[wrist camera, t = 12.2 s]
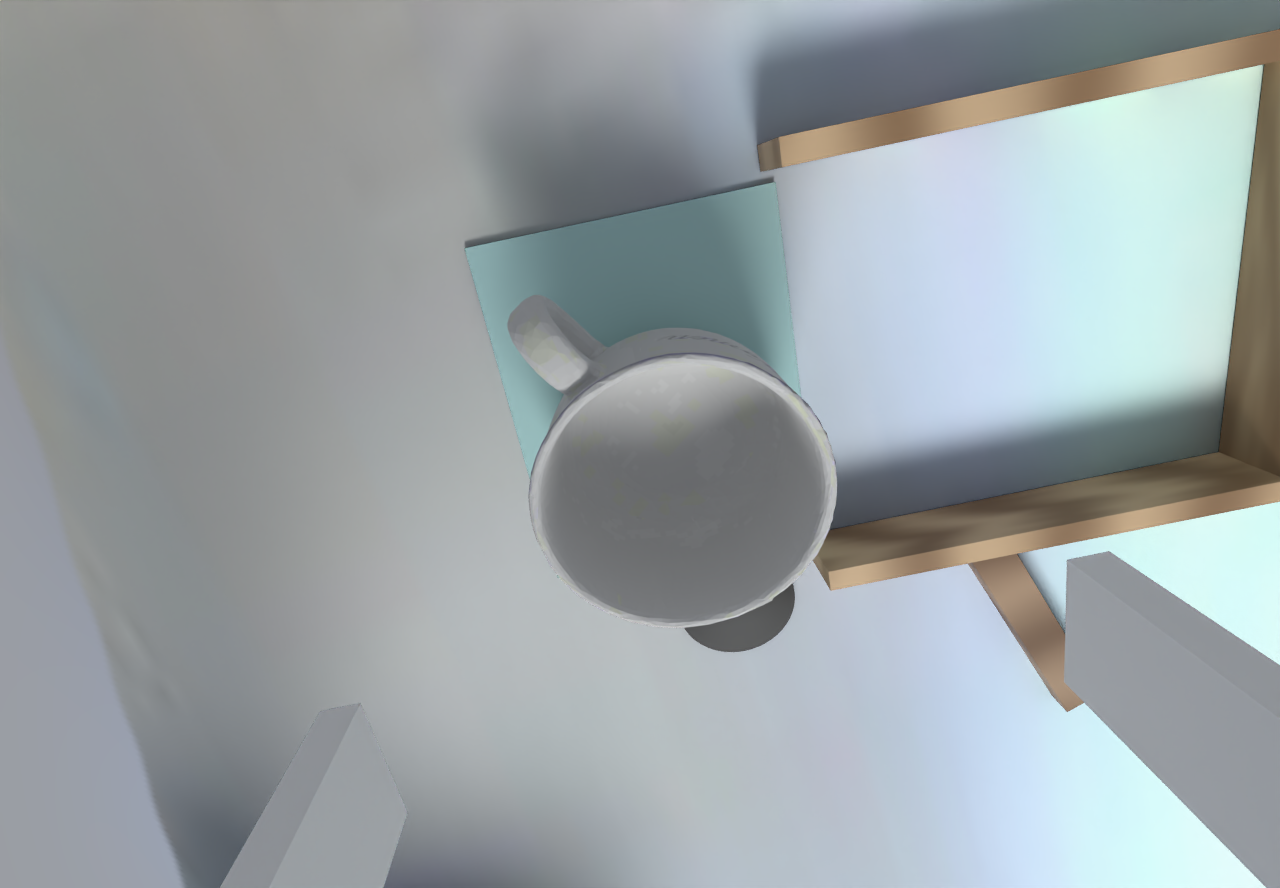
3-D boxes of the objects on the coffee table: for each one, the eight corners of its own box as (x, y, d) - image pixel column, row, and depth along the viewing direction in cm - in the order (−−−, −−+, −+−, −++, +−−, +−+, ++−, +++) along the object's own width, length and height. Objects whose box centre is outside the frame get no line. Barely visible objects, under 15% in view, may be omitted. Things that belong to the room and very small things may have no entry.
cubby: (808, 552, 33) (830, 590, 30) (757, 145, 26) (778, 136, 23) (1236, 466, 32) (1307, 495, 29) (1293, 30, 26) (1393, 4, 23)
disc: (688, 659, 35) (689, 661, 35) (668, 562, 33) (668, 564, 33) (799, 637, 35) (801, 639, 34) (786, 538, 33) (787, 540, 32)
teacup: (819, 469, 31) (886, 553, 24) (621, 572, 33) (626, 682, 25) (680, 196, 27) (709, 193, 19) (458, 330, 28) (404, 375, 21)
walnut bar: (954, 543, 34) (970, 559, 32) (988, 522, 33) (1006, 537, 32) (1048, 691, 37) (1067, 712, 36) (1080, 673, 37) (1100, 693, 35)
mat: (557, 575, 33) (557, 577, 32) (465, 248, 27) (464, 248, 27) (815, 524, 32) (816, 525, 32) (774, 182, 27) (775, 182, 27)
